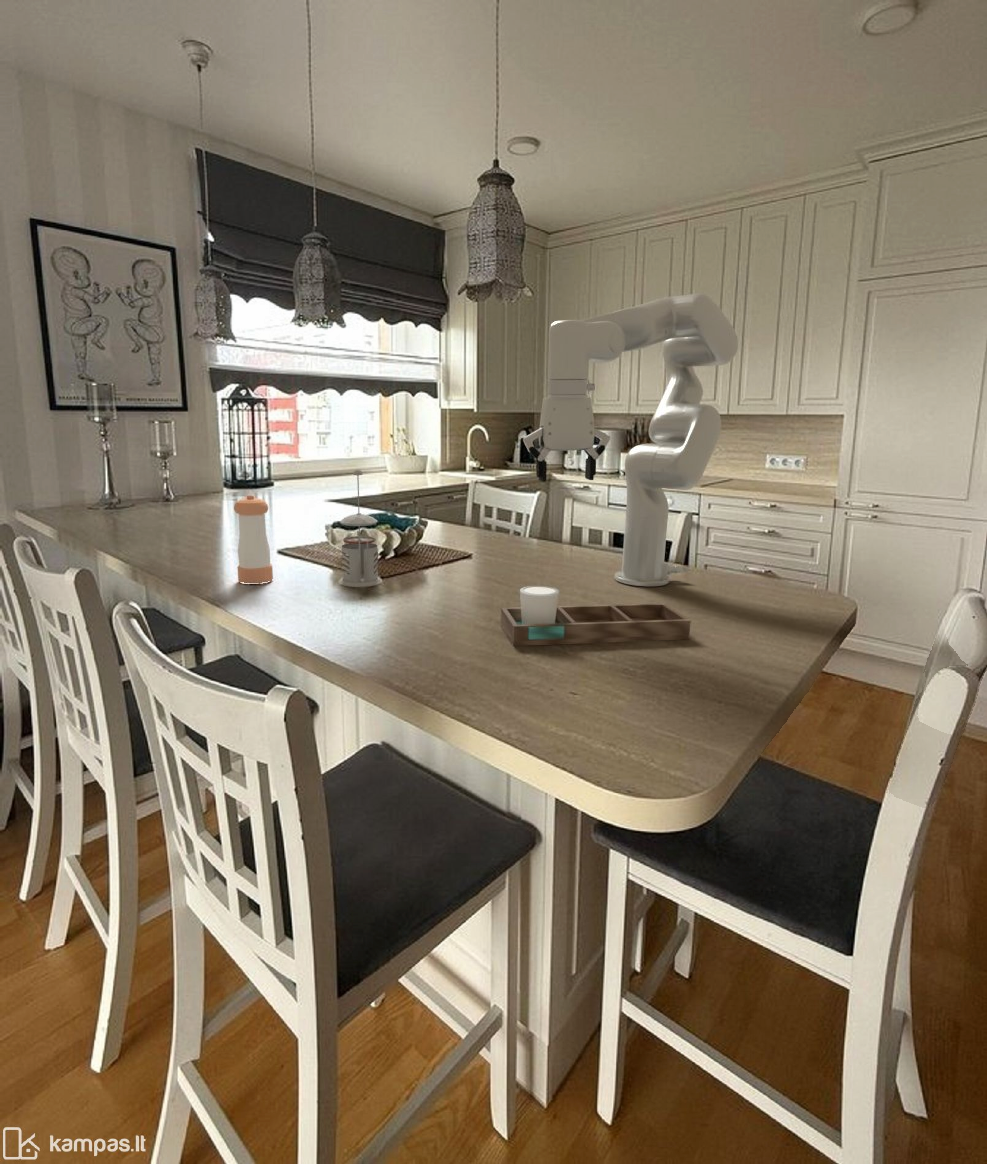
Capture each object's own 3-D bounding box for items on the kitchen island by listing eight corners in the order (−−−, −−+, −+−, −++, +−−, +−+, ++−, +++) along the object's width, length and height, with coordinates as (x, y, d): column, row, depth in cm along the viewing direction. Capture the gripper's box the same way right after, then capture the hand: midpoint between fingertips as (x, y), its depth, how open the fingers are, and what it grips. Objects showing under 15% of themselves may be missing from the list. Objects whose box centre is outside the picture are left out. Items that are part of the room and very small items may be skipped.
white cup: (561, 625, 120) (563, 587, 118) (552, 636, 114) (554, 597, 112) (524, 620, 122) (526, 583, 120) (513, 631, 116) (514, 592, 114)
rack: (662, 620, 128) (664, 603, 127) (690, 640, 117) (692, 621, 116) (500, 625, 122) (501, 607, 121) (513, 646, 111) (514, 627, 111)
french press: (378, 575, 158) (376, 467, 151) (387, 587, 147) (385, 472, 141) (336, 577, 154) (332, 467, 148) (341, 590, 144) (337, 472, 138)
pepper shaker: (277, 582, 149) (272, 496, 144) (243, 586, 145) (237, 497, 140) (267, 575, 154) (262, 492, 150) (234, 579, 150) (228, 493, 146)
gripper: (603, 389, 133) (600, 476, 138) (519, 390, 130) (518, 479, 134) (618, 389, 126) (614, 481, 131) (528, 390, 123) (528, 484, 127)
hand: (566, 480), depth 132 cm, fingers open, 9 cm apart
